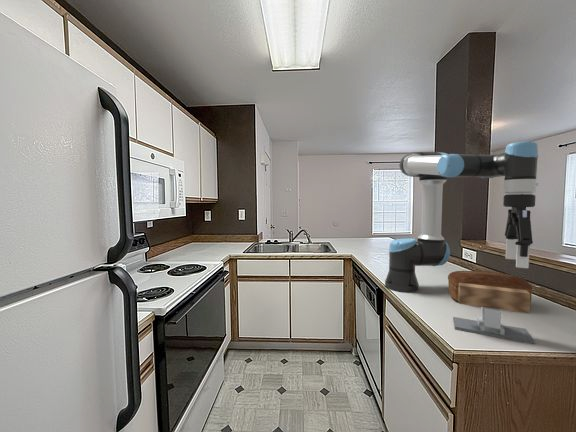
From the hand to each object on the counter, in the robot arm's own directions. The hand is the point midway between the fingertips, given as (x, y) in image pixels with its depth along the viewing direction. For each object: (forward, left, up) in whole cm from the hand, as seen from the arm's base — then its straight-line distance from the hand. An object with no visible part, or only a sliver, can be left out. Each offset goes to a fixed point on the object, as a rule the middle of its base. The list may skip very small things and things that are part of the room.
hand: (516, 263), depth 87 cm
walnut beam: (-6, 0, -15) cm, 16 cm away
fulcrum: (-6, 0, -22) cm, 23 cm away
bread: (-3, +31, -23) cm, 39 cm away
